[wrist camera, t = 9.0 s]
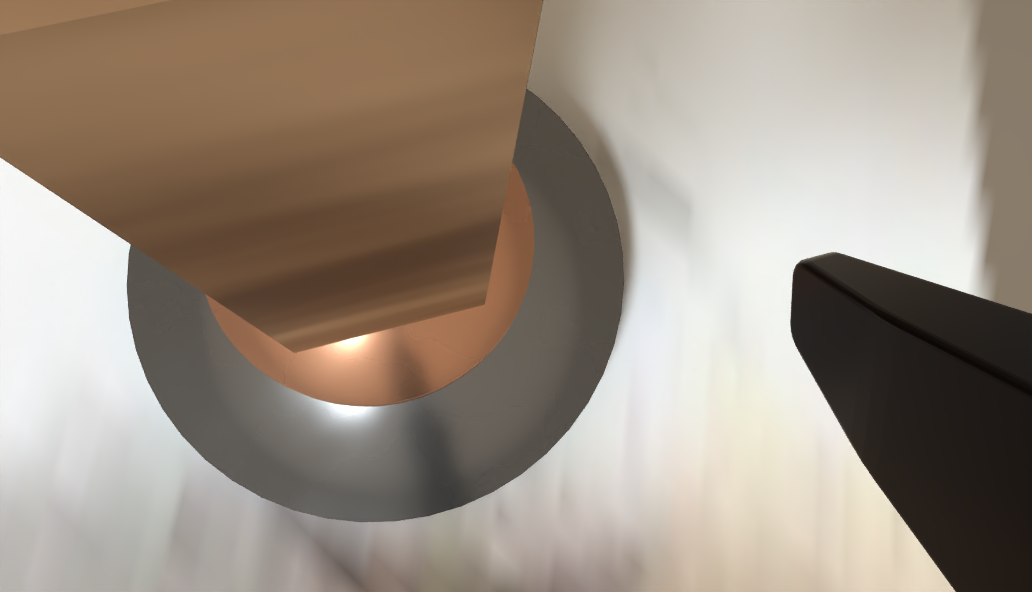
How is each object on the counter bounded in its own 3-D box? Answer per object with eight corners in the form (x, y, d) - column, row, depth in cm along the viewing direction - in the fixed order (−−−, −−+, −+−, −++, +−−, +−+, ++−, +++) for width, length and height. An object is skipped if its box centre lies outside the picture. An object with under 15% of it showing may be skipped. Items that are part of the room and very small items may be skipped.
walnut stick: (484, 305, 18) (557, -79, 5) (294, 353, 17) (-143, 63, 5) (437, 128, 19) (398, -598, 6) (252, 170, 18) (-230, -519, 5)
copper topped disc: (647, 106, 23) (686, 34, 19) (575, 559, 21) (603, 581, 17) (208, 19, 23) (157, -72, 19) (84, 470, 21) (-3, 473, 17)
